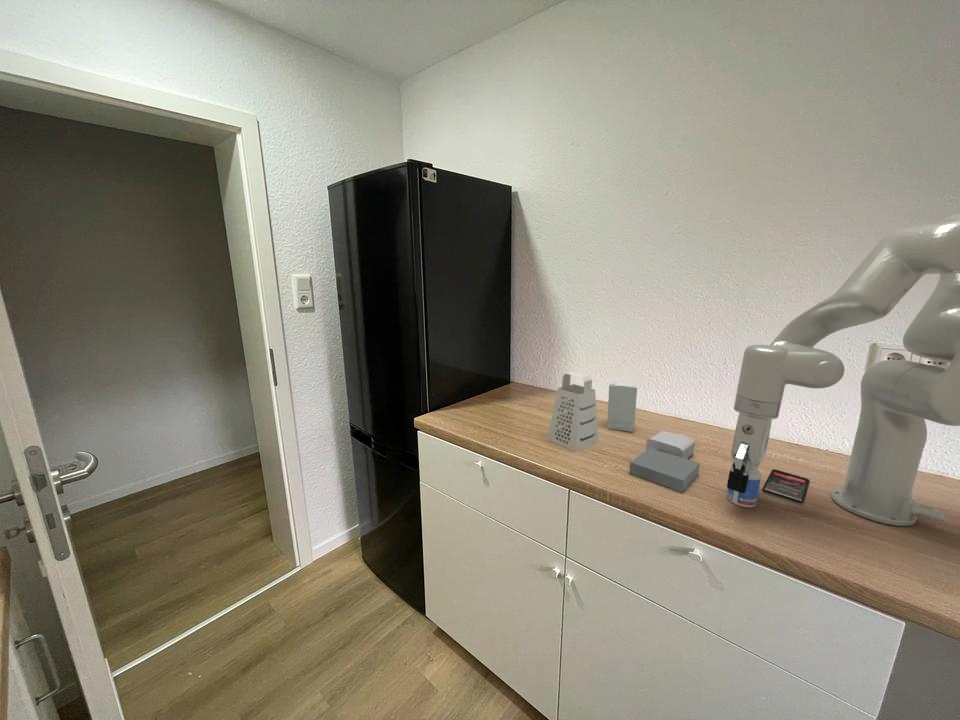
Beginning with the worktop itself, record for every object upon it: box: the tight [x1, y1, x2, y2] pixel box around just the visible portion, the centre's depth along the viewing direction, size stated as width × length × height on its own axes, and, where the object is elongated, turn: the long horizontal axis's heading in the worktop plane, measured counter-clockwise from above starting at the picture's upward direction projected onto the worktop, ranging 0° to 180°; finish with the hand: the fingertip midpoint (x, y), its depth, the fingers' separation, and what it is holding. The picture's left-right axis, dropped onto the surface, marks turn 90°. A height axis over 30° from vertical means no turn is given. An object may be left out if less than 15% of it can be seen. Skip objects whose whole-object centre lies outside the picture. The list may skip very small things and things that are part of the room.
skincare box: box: [606, 380, 638, 433], centre depth 121 cm, size 8×6×15 cm
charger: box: [645, 430, 696, 459], centre depth 106 cm, size 5×9×15 cm
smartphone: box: [761, 468, 811, 506], centre depth 89 cm, size 7×1×15 cm
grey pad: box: [629, 448, 701, 494], centre depth 93 cm, size 12×12×3 cm
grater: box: [546, 371, 600, 453], centre depth 110 cm, size 10×10×20 cm
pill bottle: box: [726, 458, 762, 508], centre depth 82 cm, size 6×5×10 cm
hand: (741, 482), depth 82 cm, fingers open, 9 cm apart
